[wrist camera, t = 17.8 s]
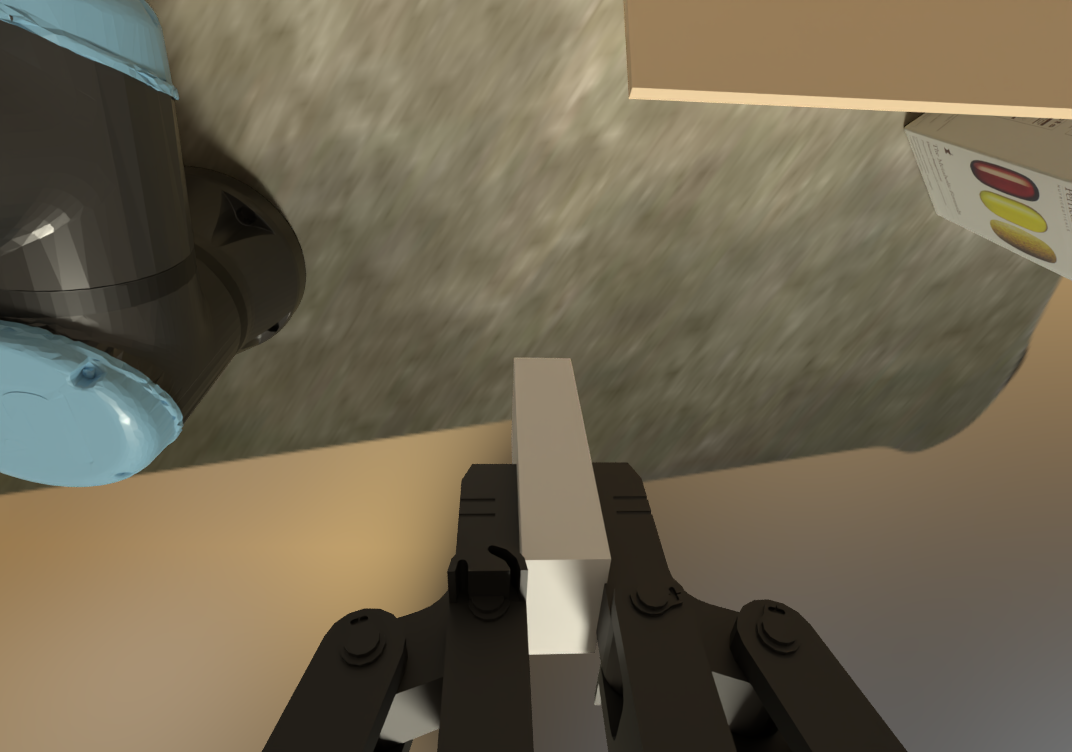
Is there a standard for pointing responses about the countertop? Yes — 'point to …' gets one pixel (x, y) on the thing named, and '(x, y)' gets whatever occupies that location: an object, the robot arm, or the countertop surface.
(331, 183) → the countertop surface
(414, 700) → the robot arm
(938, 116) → the supplement box
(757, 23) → the flap
